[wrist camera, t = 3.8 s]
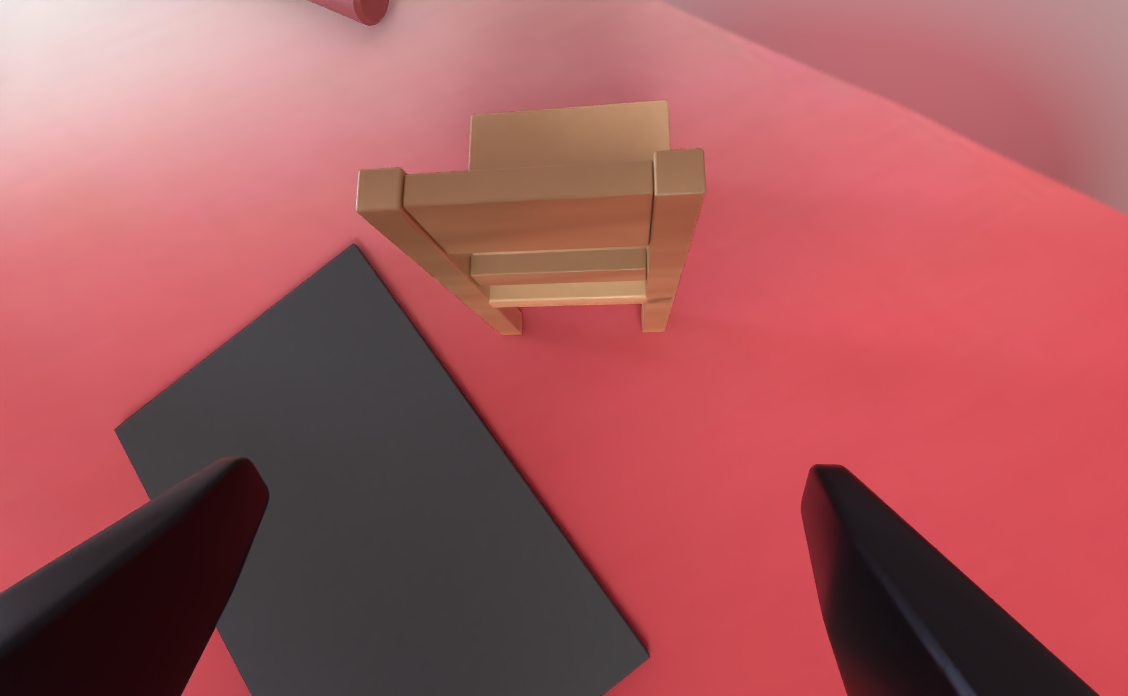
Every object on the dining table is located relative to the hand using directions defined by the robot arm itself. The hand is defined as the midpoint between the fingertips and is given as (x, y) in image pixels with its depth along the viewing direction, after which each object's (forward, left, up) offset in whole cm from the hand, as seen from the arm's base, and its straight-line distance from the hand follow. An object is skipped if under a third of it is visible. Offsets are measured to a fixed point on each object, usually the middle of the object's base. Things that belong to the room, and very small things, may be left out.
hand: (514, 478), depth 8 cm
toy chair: (+6, -5, -12) cm, 14 cm away
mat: (+3, +9, -12) cm, 15 cm away
